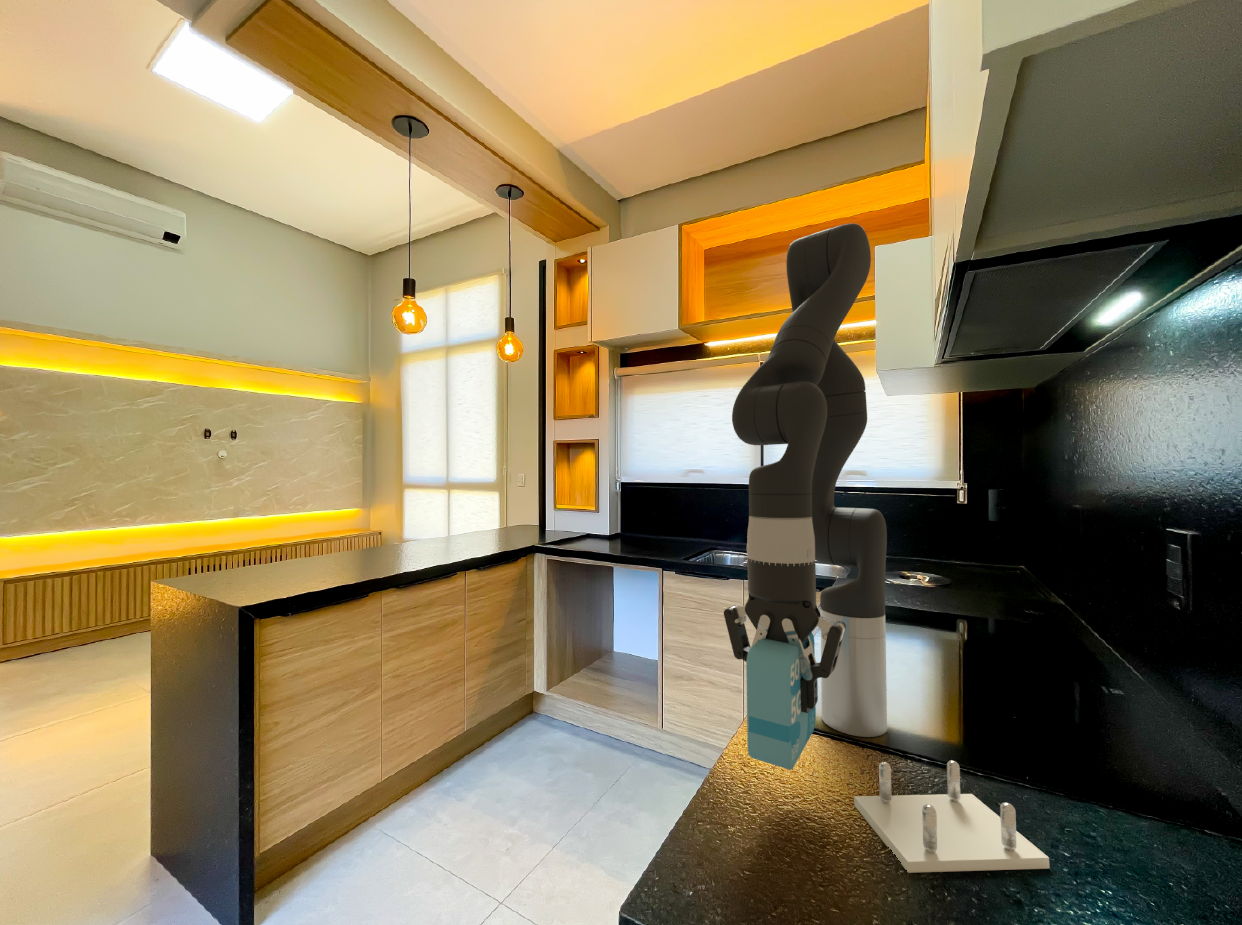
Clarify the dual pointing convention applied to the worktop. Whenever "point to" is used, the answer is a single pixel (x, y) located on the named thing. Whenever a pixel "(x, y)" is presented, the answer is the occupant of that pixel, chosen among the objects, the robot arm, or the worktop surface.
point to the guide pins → (954, 794)
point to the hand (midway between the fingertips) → (783, 703)
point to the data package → (776, 704)
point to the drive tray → (947, 834)
